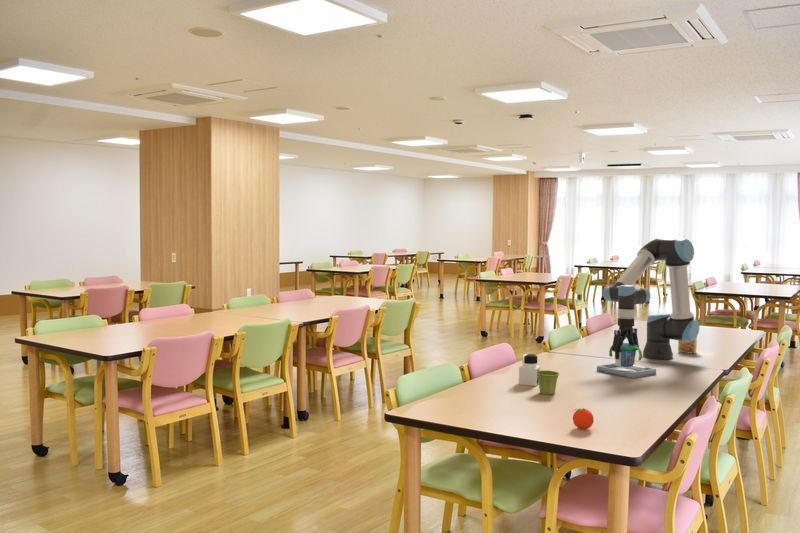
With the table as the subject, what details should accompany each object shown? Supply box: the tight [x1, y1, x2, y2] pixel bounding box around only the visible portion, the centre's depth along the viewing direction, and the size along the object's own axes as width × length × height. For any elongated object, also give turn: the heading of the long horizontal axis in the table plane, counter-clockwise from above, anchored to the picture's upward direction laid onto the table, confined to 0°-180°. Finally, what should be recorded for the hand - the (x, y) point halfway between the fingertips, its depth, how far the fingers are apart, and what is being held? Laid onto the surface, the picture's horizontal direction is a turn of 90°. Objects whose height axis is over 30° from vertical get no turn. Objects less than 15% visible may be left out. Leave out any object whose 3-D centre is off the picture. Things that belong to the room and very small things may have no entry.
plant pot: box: [536, 370, 560, 396], centre depth 284 cm, size 9×9×9 cm
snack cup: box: [608, 342, 643, 367], centre depth 325 cm, size 16×10×10 cm
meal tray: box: [596, 362, 657, 380], centre depth 326 cm, size 18×20×3 cm
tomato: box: [569, 408, 595, 430], centre depth 233 cm, size 8×7×7 cm
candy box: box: [677, 336, 698, 354], centre depth 381 cm, size 9×4×15 cm, turn 51°
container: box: [518, 353, 541, 387], centre depth 301 cm, size 8×8×13 cm
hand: (625, 364), depth 325 cm, fingers closed on snack cup, 9 cm apart
